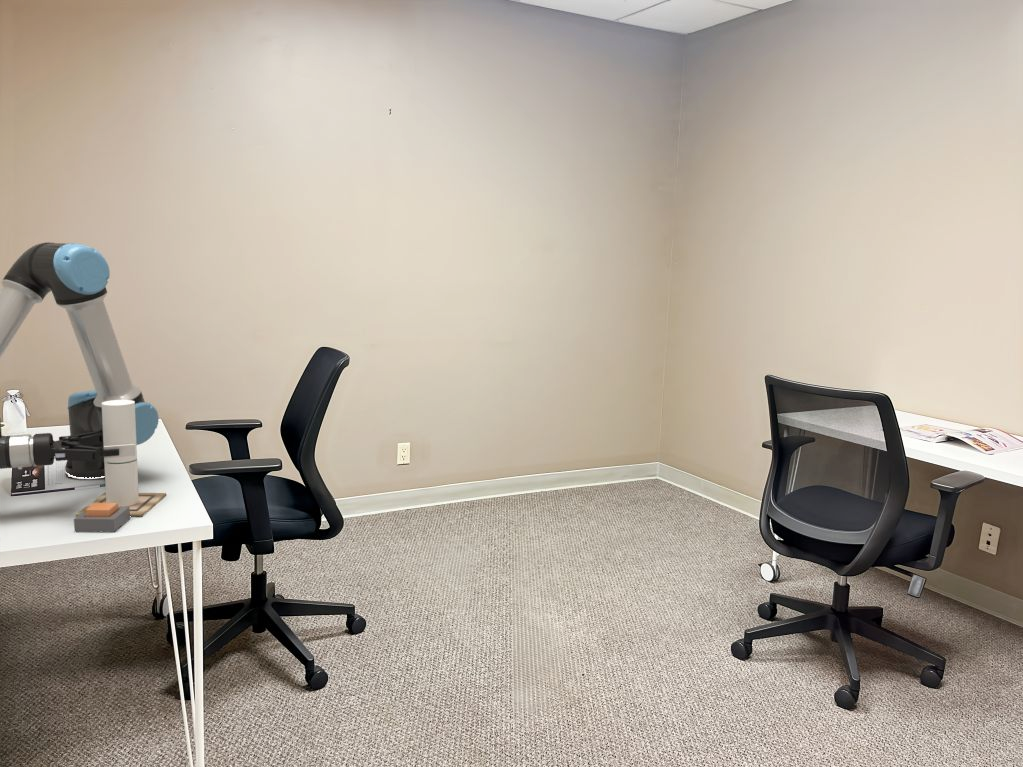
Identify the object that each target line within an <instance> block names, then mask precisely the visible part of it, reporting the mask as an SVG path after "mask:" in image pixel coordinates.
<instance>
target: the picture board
mask: <svg viewBox="0 0 1023 767" xmlns="http://www.w3.org/2000/svg"><path fill="white" fill-rule="evenodd" d="M138 495H139V502H138V503H136V504H134V505H131V506H128V507H130V516H140V517H139V518H142V517H144V516H145V515H146V514H147V513H148V512H149V511H150V510H152V509H153V508H154V507H155V506H156V505H157V504H158V503H159V502H160V501H162V500H163V499H164V498H165V497H166V496H167V492H138ZM94 503H106V492H104V493H103V494H101V495H100V496H98V497H97V498H96V499H94V500H93V501H91V503H90V502H89V504H87V505H86V506H85V507H84V508H82V509H80V510H79V511H78V512H77V513H76V514H75V516H76V517H77V516H79V515H80V514H81V513H83V512H84V511H86V509H88V508H89V507H90V506H92V505H93V504H94ZM153 506H154V507H153ZM152 507H153V508H152ZM147 511H148V512H147ZM146 512H147V513H146ZM145 513H146V514H145ZM144 514H145V515H144ZM143 515H144V516H143ZM141 516H142V517H141Z"/></svg>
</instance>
